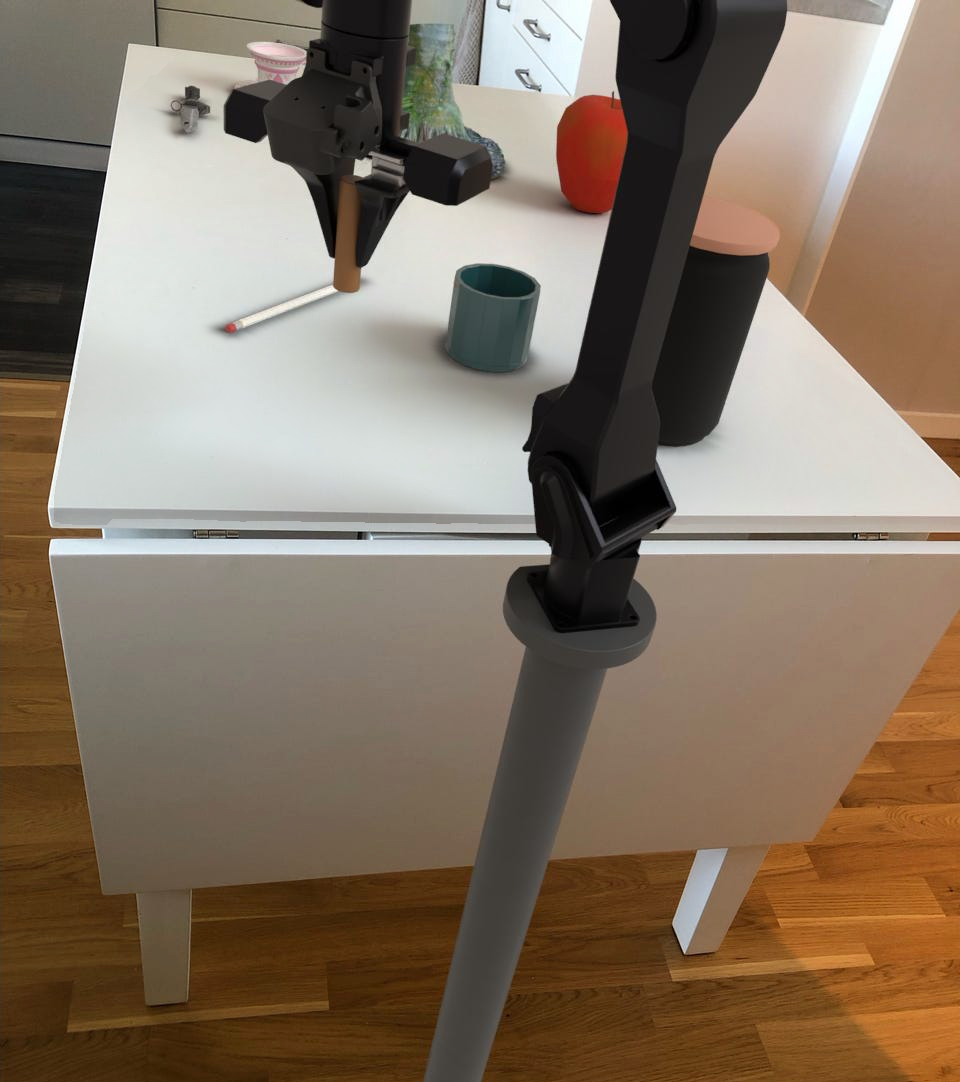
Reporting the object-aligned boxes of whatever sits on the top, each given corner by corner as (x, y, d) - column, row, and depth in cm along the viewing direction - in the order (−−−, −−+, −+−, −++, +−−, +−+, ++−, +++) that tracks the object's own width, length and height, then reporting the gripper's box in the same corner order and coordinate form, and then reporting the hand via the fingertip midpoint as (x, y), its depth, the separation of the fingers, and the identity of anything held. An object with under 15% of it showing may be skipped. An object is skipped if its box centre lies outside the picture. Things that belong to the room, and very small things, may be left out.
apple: (566, 227, 131) (591, 103, 122) (527, 191, 139) (548, 72, 130) (653, 228, 136) (683, 109, 127) (611, 193, 144) (636, 79, 135)
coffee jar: (739, 438, 96) (808, 238, 85) (651, 459, 91) (713, 249, 79) (661, 382, 102) (716, 189, 91) (574, 400, 97) (621, 197, 85)
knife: (208, 125, 133) (166, 121, 132) (208, 142, 135) (166, 138, 134) (211, 85, 147) (173, 81, 146) (211, 101, 149) (173, 97, 147)
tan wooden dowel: (362, 293, 81) (371, 184, 76) (336, 293, 80) (343, 183, 75) (355, 282, 82) (364, 174, 77) (330, 282, 82) (337, 173, 77)
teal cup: (538, 371, 100) (552, 300, 96) (459, 372, 98) (470, 299, 93) (511, 333, 106) (523, 264, 101) (435, 333, 103) (444, 262, 99)
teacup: (235, 104, 149) (235, 55, 145) (232, 80, 158) (232, 33, 154) (322, 113, 152) (325, 65, 148) (315, 89, 160) (317, 43, 157)
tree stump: (410, 189, 134) (401, 24, 125) (342, 175, 149) (330, 26, 140) (532, 177, 142) (532, 20, 134) (456, 164, 157) (451, 22, 148)
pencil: (224, 331, 97) (224, 323, 97) (356, 280, 110) (356, 274, 110) (231, 334, 97) (231, 327, 97) (362, 283, 110) (362, 277, 109)
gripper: (168, 5, 67) (176, 253, 77) (433, 83, 62) (404, 336, 72) (272, -11, 75) (267, 215, 85) (513, 57, 70) (477, 287, 80)
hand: (348, 261), depth 80 cm, fingers closed on tan wooden dowel, 2 cm apart
